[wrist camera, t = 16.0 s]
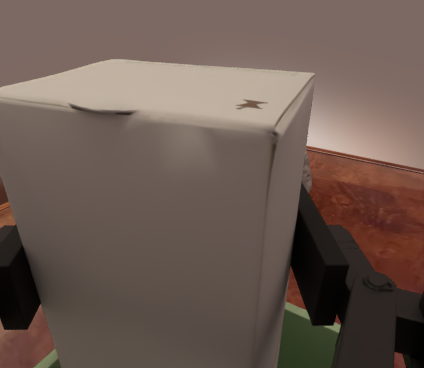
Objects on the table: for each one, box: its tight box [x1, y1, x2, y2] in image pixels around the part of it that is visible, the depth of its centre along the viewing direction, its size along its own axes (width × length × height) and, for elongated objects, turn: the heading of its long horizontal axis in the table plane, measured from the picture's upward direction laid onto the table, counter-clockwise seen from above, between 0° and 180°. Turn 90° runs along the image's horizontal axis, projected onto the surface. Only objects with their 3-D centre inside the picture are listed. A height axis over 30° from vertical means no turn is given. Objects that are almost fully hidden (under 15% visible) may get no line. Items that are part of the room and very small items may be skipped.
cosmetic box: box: [0, 59, 315, 368], centre depth 14 cm, size 8×7×16 cm
